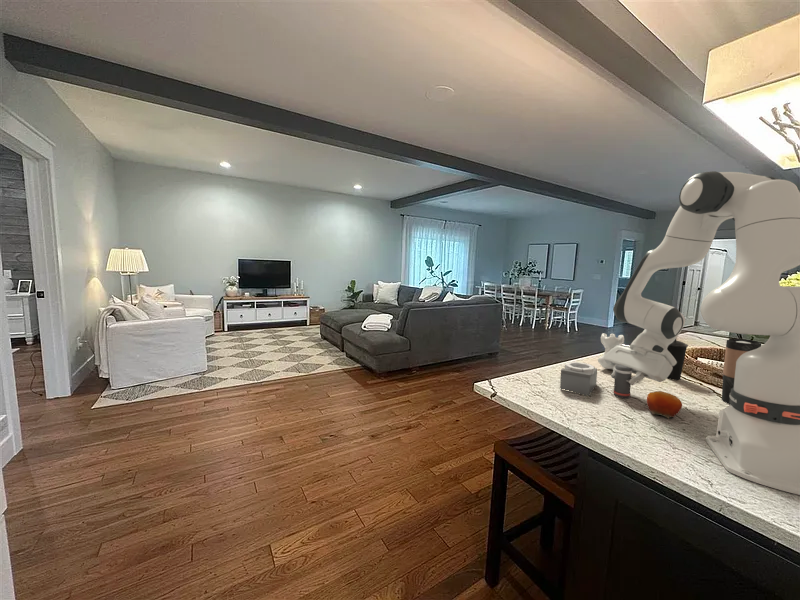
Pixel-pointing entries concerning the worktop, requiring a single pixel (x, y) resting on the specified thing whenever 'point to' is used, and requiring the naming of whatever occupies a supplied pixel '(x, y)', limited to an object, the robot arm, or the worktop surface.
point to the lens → (622, 381)
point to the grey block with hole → (578, 377)
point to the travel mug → (734, 362)
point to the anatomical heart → (609, 347)
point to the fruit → (663, 404)
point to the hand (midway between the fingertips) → (621, 380)
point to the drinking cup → (677, 358)
